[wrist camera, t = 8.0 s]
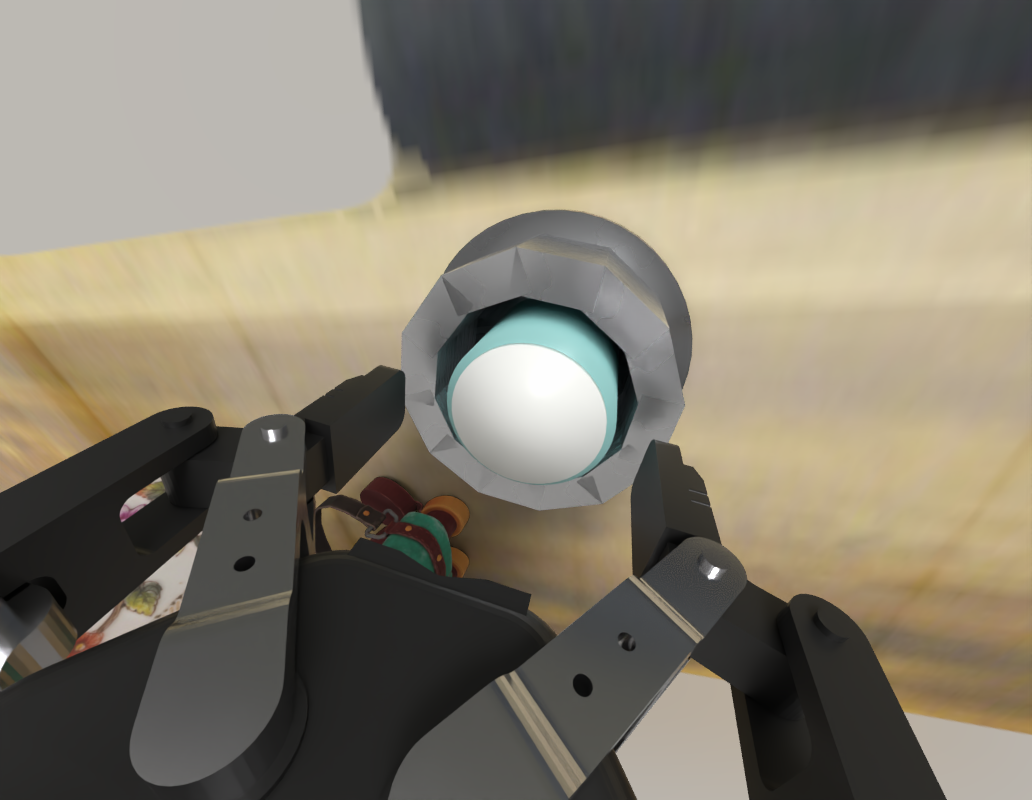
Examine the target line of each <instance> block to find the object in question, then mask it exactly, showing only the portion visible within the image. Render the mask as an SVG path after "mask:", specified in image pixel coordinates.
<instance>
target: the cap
mask: <svg viewBox="0 0 1032 800" xmlns="http://www.w3.org/2000/svg"><path fill="white" fill-rule="evenodd" d="M618 366H619V351H618V345H617V344H616V343H615V342H614V341H613V340H612V339H611V338H610V337H609V336H608V335H607V334H606V333H605V332H604V331H602V330H601V329H600V328H599V327H598V326H597V325H596V324H595V323H594V322H593V321H592V320H591V319H590V318H589V317H588V316H587V315H585V314H584V313H583V312H582V311H581V310H579V309H575V308H570V307H566V306H562V305H557V304H553V303H549V302H544V301H540V300H536V299H532V298H527V299H525V300H523V301H521V302H520V303H518V304H517V305H515V306H514V307H513V308H511V309H510V310H509V311H508V313H507V314H506V315H505V316H504V317H503V318H502V319H501V320H500V321H499V322H498V323H497V324H496V325H495V326H494V327H493V328H492V329H491V330H490V331H489V332H488V333H487V334H486V335H485V336H484V337H483V338H482V339H481V340H480V341H479V342H478V343H477V344H476V345H475V346H474V347H473V348H472V349H471V350H470V351H469V352H468V353H467V354H466V355H465V356H464V357H463V358H462V359H461V361H460V362H459V363H458V365H457V366H456V368H455V370H454V372H453V374H452V376H451V379H450V382H449V385H448V392H447V408H448V415H449V419H450V422H451V425H452V427H453V430H454V432H455V434H456V436H457V438H458V439H459V441H460V442H461V444H462V445H463V447H464V448H465V449H466V450H467V451H468V452H469V454H470V455H471V456H472V457H473V458H474V459H476V460H477V461H478V462H479V463H480V464H482V465H483V466H484V467H486V468H487V469H489V470H491V471H492V472H494V473H496V474H498V475H500V476H502V477H504V478H507V479H510V480H513V481H516V482H520V483H525V484H532V485H552V484H558V483H563V482H567V481H570V480H573V479H575V478H577V477H580V476H582V475H583V474H585V473H587V472H588V471H590V470H591V469H592V468H593V467H595V466H596V465H597V464H598V463H599V462H600V461H601V459H602V458H603V457H604V456H605V454H606V453H607V451H608V450H609V448H610V445H611V443H612V441H613V438H614V434H615V431H616V421H617V395H618Z"/></svg>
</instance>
